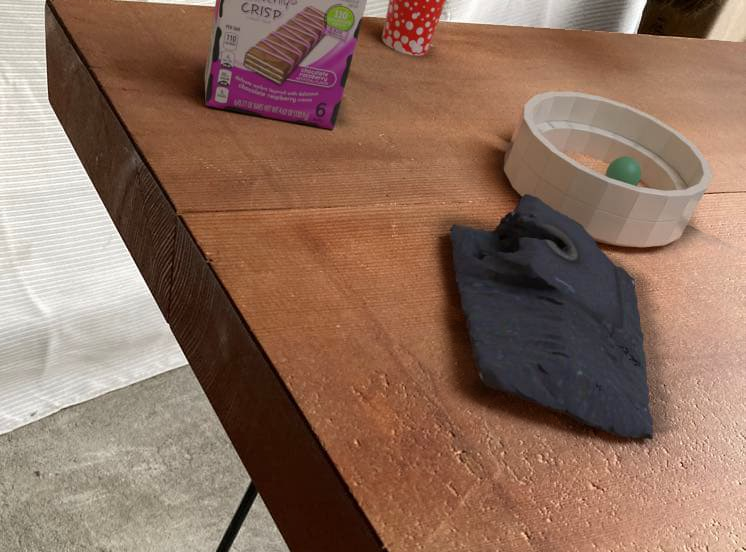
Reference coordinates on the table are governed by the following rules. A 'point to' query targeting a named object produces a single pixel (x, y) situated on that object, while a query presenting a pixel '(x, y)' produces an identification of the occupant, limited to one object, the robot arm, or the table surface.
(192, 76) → the table surface
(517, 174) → the wide hollow ring
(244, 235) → the table surface
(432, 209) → the table surface
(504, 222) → the dark slate chunk
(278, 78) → the candy bar box
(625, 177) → the bead
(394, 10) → the beverage cup
